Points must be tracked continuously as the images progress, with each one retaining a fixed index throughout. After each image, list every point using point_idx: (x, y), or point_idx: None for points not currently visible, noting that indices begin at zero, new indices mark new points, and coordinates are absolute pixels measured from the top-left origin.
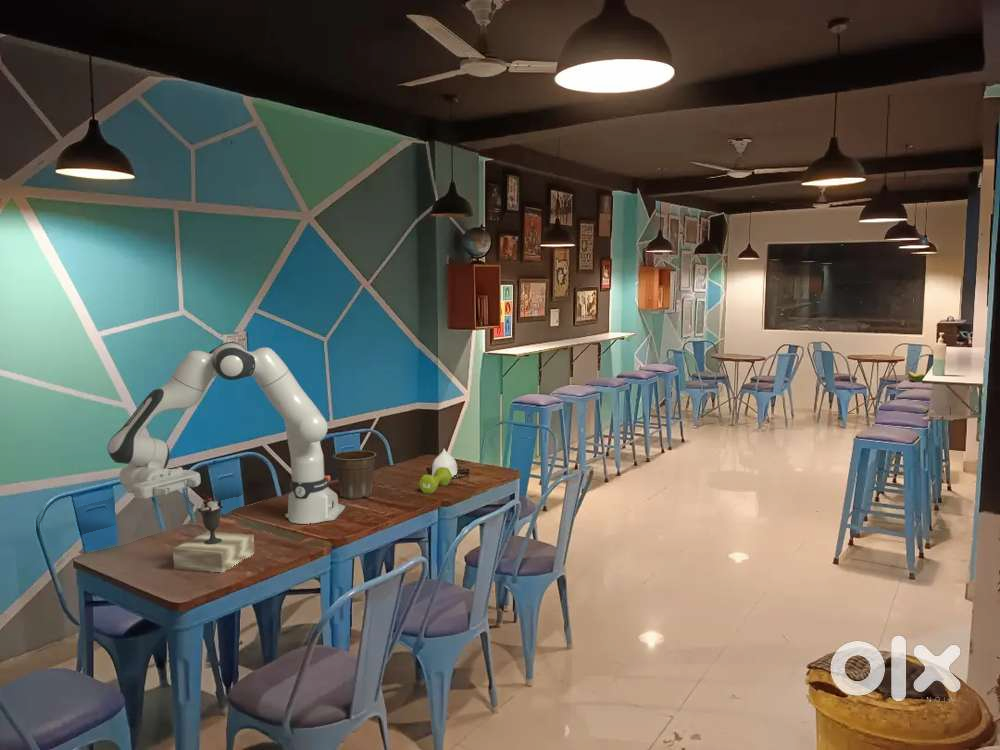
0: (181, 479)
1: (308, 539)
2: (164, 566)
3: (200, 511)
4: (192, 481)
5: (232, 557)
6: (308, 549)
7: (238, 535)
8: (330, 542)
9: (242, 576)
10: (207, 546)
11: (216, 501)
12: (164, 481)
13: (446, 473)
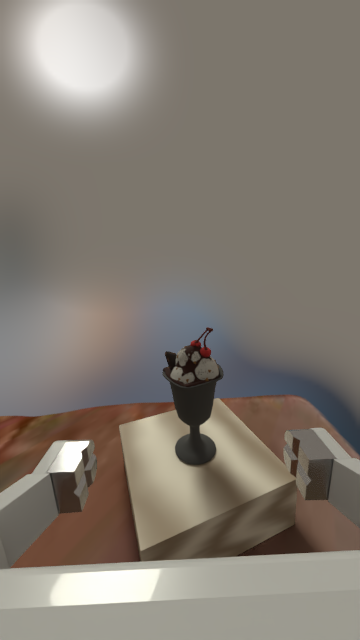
0: (60, 571)
1: (20, 448)
2: None
3: (219, 375)
4: (75, 454)
5: None
6: (78, 417)
7: (134, 442)
8: (39, 416)
9: None
10: (220, 433)
11: (179, 351)
12: (333, 618)
13: None
